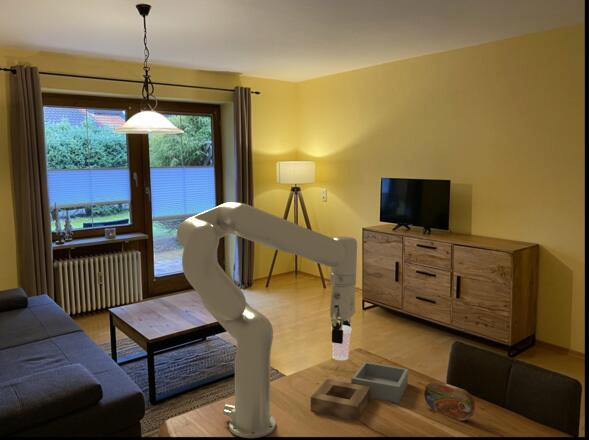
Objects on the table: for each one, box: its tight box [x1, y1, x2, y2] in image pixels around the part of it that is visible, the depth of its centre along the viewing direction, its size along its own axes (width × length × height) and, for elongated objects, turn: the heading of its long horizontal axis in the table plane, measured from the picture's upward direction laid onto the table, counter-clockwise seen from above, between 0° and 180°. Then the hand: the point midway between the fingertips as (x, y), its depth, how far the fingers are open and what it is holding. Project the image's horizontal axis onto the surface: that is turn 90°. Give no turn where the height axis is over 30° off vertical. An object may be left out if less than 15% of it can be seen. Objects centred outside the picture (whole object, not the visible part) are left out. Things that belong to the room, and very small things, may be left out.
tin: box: [423, 381, 476, 422], centre depth 137 cm, size 15×3×8 cm, turn 42°
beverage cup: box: [330, 325, 353, 361], centre depth 140 cm, size 6×6×14 cm
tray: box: [350, 361, 409, 404], centre depth 153 cm, size 15×15×5 cm
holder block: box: [310, 378, 371, 421], centre depth 142 cm, size 14×14×4 cm
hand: (340, 338), depth 140 cm, fingers closed on beverage cup, 6 cm apart
